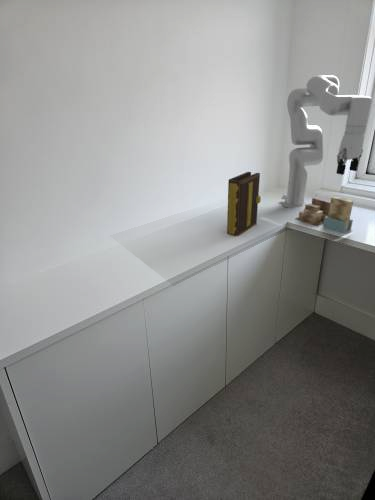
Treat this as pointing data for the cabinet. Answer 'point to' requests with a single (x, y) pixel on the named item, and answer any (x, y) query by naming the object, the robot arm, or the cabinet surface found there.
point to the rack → (315, 212)
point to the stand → (336, 224)
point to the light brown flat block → (340, 209)
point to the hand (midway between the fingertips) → (346, 172)
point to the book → (242, 203)
